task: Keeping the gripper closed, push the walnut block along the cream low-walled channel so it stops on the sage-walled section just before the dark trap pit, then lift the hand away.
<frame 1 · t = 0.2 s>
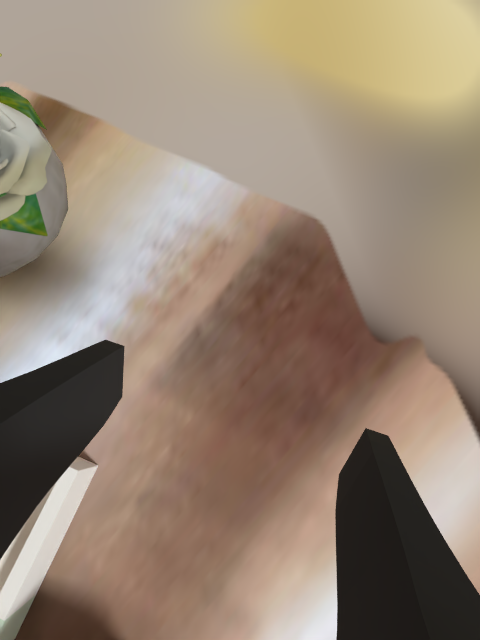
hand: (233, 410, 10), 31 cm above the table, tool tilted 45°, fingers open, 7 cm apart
flower arrangement: (17, 232, 47), on the table
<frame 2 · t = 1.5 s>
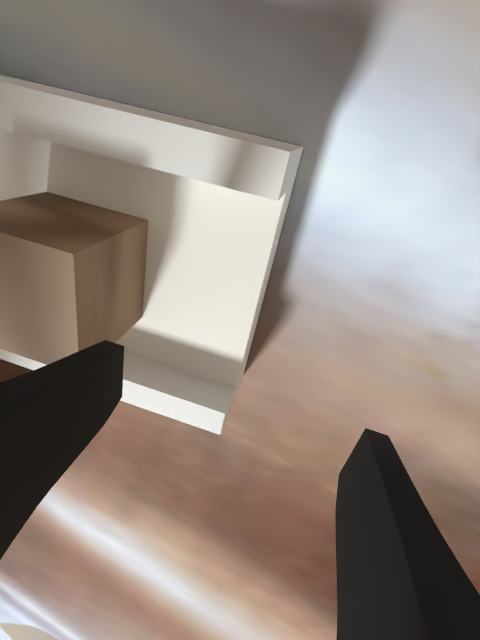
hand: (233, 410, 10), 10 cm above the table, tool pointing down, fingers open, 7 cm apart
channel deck: (3, 205, 20), on the table
walnut block: (97, 258, 17), point 3 cm above the table, touching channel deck
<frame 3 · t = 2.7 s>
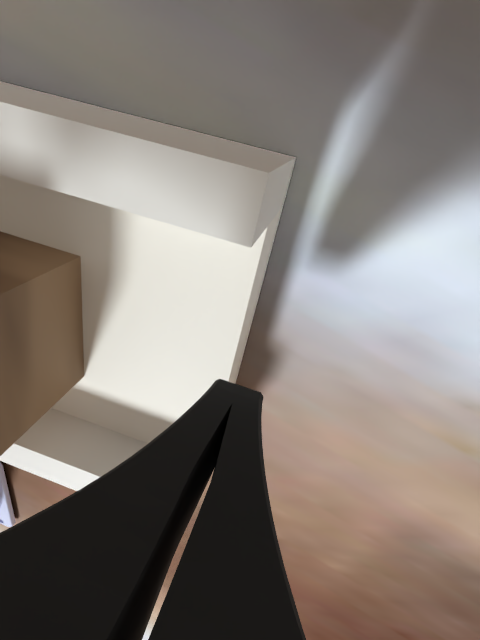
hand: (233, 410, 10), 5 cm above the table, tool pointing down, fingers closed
walnut block: (20, 301, 12), point 3 cm above the table, touching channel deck
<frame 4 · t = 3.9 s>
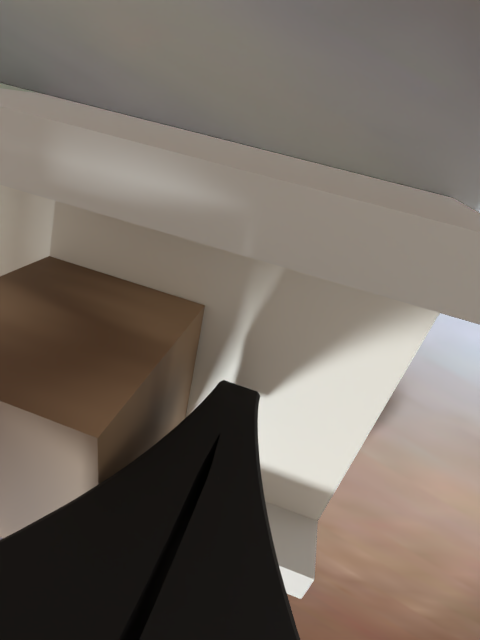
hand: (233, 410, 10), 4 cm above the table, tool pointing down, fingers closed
walnut block: (122, 348, 11), point 3 cm above the table, touching gripper
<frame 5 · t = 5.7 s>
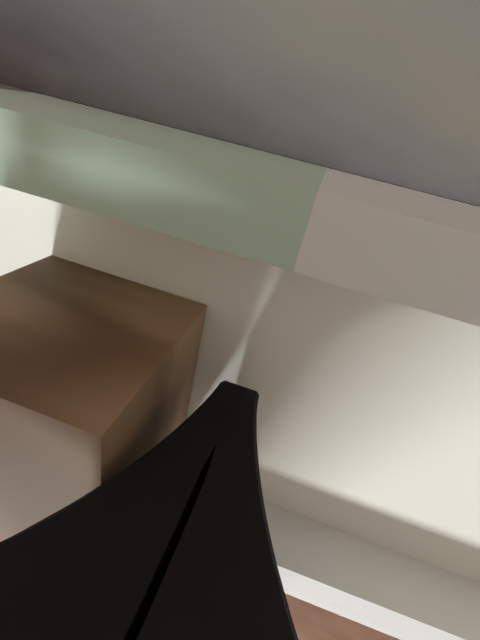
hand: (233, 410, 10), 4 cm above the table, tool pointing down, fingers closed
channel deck: (199, 321, 14), on the table
walnut block: (124, 347, 11), point 3 cm above the table, touching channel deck, gripper
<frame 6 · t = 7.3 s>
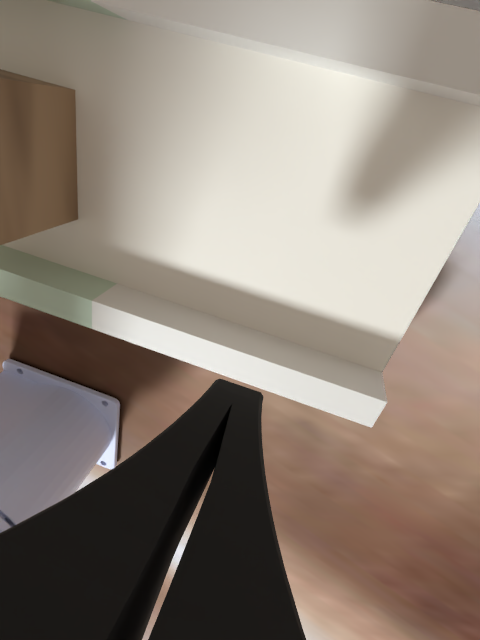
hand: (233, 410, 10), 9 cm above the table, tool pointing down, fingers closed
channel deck: (99, 152, 17), on the table
walnut block: (23, 144, 15), point 3 cm above the table, touching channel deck
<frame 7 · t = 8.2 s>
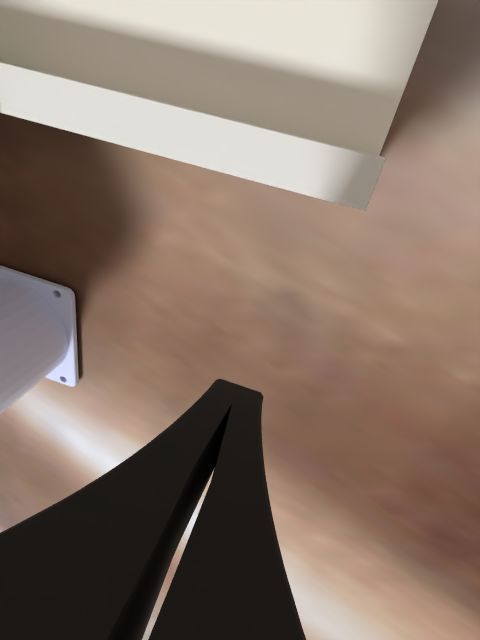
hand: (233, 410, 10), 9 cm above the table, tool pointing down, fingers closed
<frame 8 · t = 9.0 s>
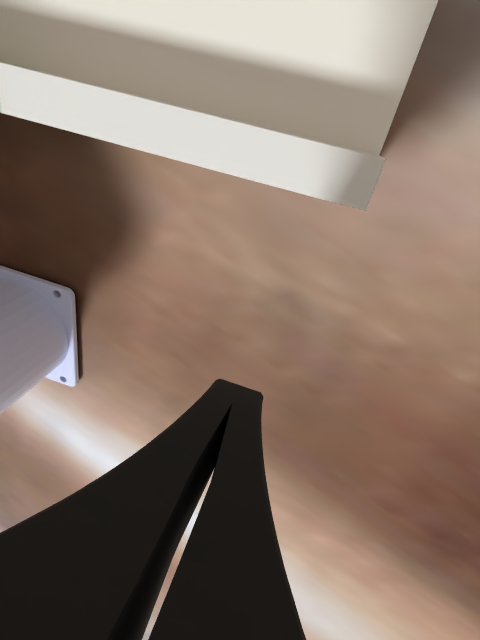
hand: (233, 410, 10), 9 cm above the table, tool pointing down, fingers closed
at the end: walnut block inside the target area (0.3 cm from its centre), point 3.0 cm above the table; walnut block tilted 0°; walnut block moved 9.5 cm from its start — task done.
